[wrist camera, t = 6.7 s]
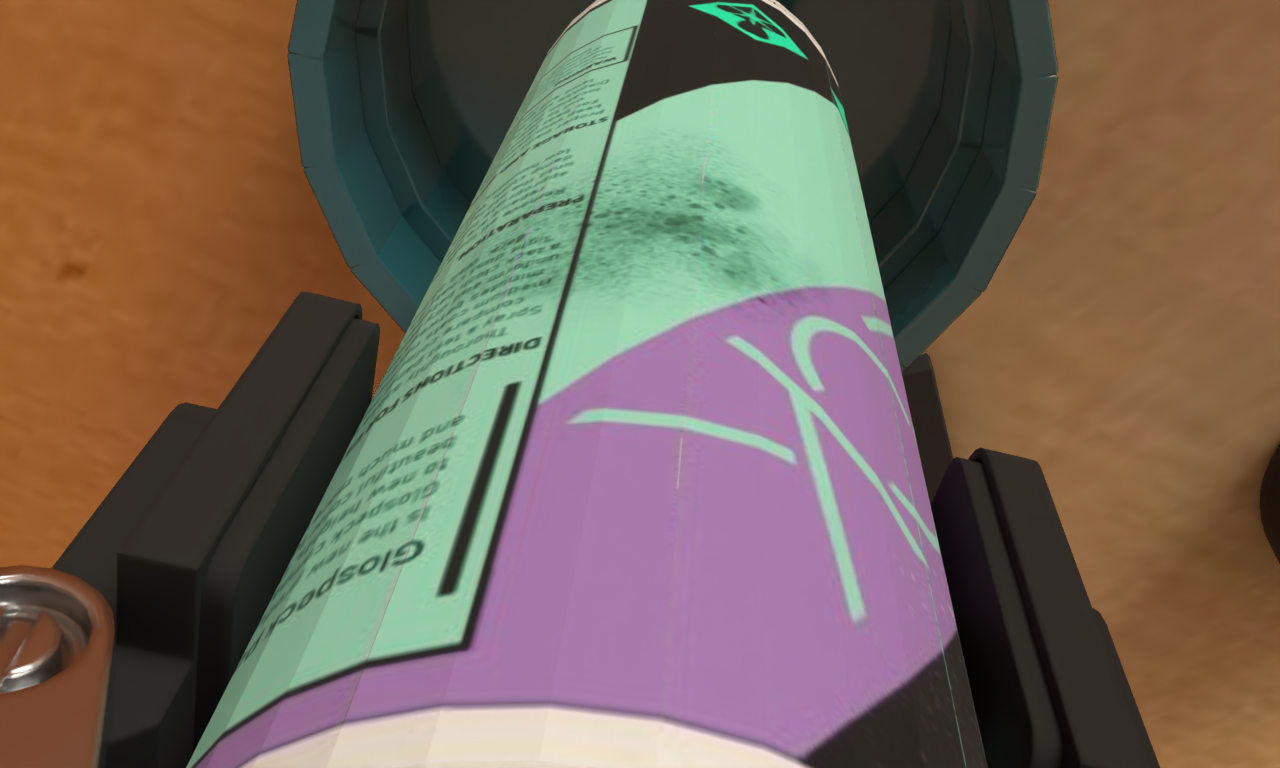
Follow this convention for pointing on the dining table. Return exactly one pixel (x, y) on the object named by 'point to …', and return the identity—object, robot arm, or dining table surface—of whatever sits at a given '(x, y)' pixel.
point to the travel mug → (1272, 503)
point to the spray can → (631, 453)
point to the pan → (534, 20)
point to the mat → (927, 421)
